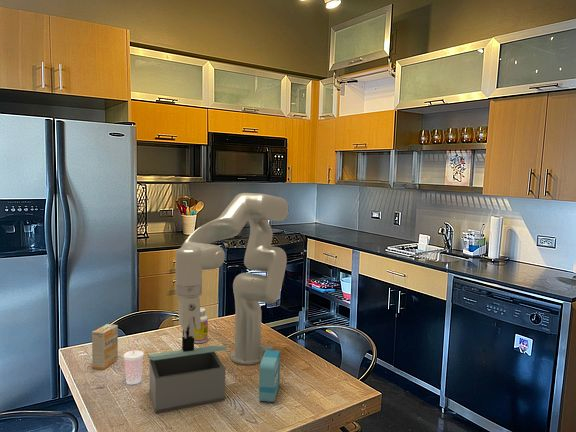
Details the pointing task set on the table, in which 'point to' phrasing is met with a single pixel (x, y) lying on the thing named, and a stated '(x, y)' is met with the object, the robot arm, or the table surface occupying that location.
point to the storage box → (186, 381)
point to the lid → (186, 352)
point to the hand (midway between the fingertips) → (188, 349)
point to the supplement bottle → (201, 334)
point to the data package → (269, 375)
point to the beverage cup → (133, 366)
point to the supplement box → (104, 346)
